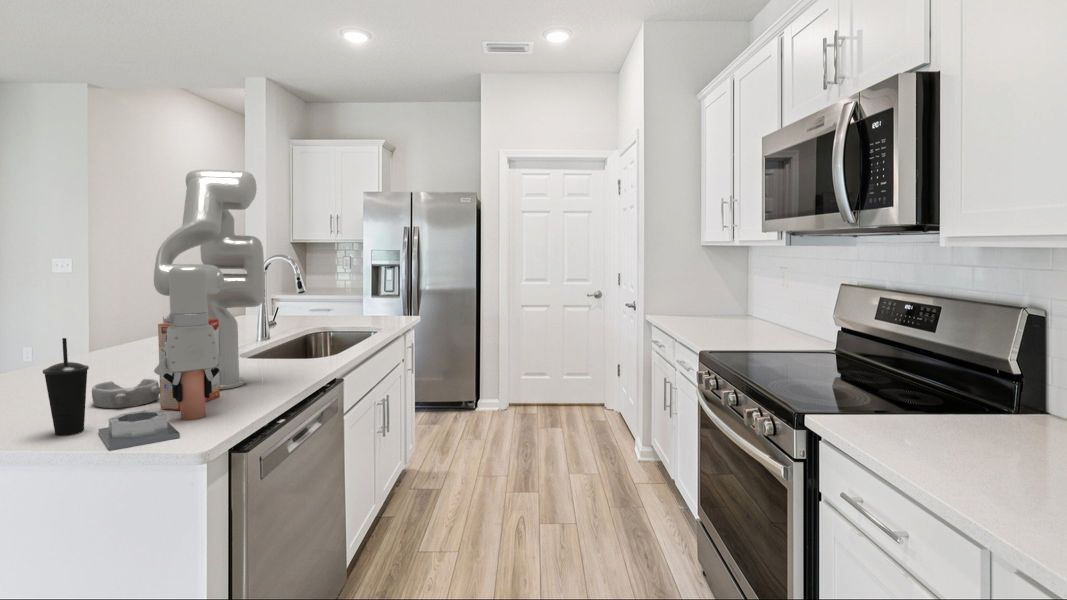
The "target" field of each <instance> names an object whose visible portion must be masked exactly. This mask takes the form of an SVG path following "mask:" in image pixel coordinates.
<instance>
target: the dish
mask: <svg viewBox="0 0 1067 600" xmlns="http://www.w3.org/2000/svg"><path fill="white" fill-rule="evenodd" d="M91 398H92V401H93V405H94V406H96V407H98V408H108V409H109V408H111V409H123V408H132V407H137V406H142V405H146V404H149V403H153V402H155V401H157V400H159V399H160V383H159V381H158V380H157V379H154V378H143V379H142V380H141V382H140V383H139V384H137V385H136V386H134V387H127V388H125V387H122V386H120V385H119V384H116V383H115V382H114V381H111V380H109V381H103V382H98V383H97V384H95V385H93V386H92V389H91Z"/></svg>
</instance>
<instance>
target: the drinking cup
mask: <svg viewBox="0 0 1067 600" xmlns="http://www.w3.org/2000/svg"><path fill="white" fill-rule="evenodd" d="M61 340H62V353H63V354H62V357H63V362H58V363H56V364H53V365H51V366H49V367H47V368H44V369H43V370H42V374H43V375H44V379H45V383H46V390H47V396H48V400H49V407H50V412H51V418H52V423H53V430H54V434H55V436H57V437H58V436H60V437H64V436H65V437H66V436H72V434H73V435H77V434H80V433H83V432H84V431H85V421H86V420H85V419H86V418H85V417H86V399H87V396H86V395H87V384H88V383H87V380H88V370H89V369H90V367H89V365H86V364H82V363H79V362H74V361H68V344H67V341H68V340H67V337H62V339H61ZM83 430H84V431H83ZM82 431H83V432H82ZM79 432H80V433H79ZM76 433H77V434H76Z"/></svg>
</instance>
